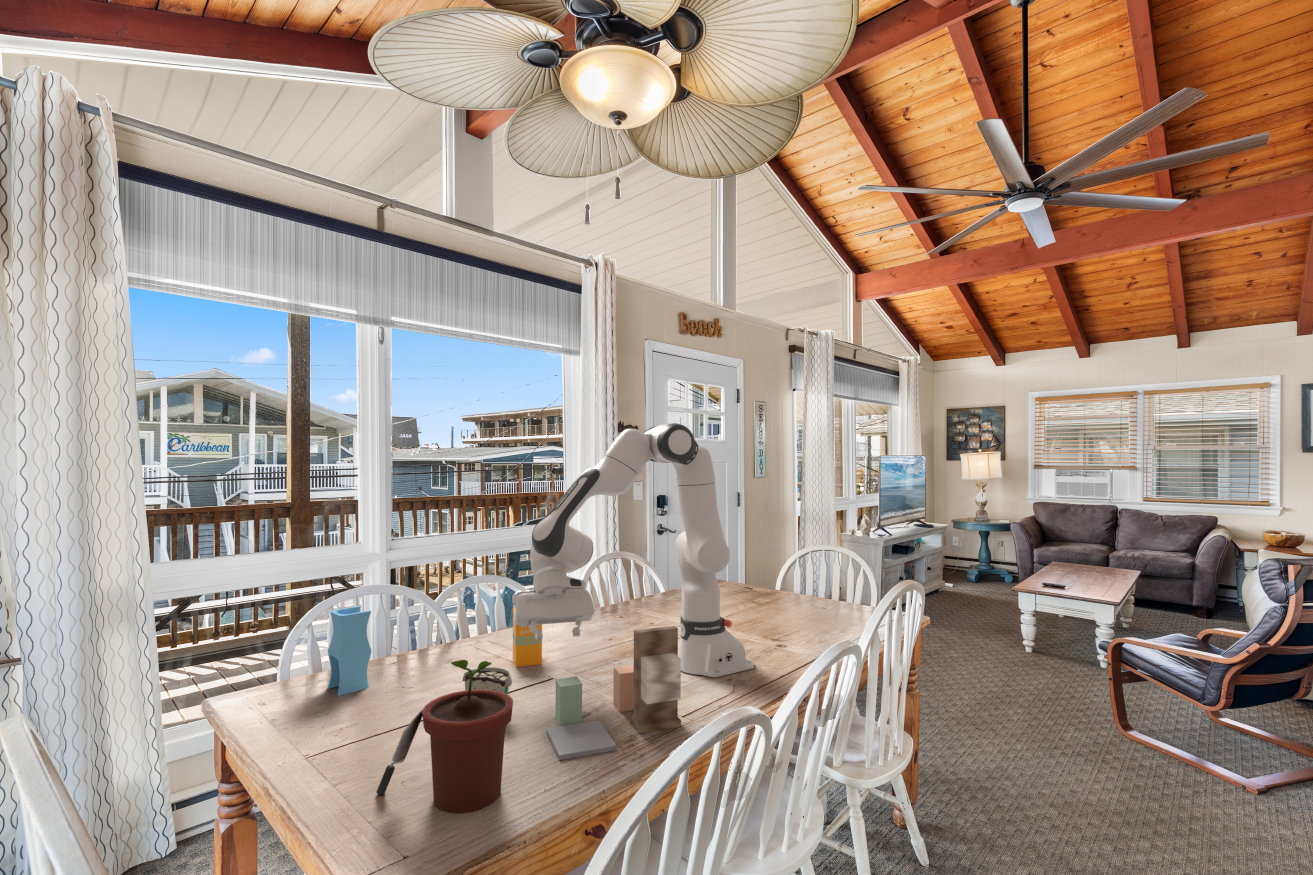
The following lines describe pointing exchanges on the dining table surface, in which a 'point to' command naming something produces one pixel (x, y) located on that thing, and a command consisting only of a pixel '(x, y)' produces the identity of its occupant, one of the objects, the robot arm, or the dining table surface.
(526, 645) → the orange juice
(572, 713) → the green block
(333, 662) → the vase
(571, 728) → the grey board
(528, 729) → the dining table surface
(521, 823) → the dining table surface
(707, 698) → the dining table surface
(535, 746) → the dining table surface
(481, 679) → the food container
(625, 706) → the terracotta block
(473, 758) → the potted plant
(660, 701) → the wall stand
